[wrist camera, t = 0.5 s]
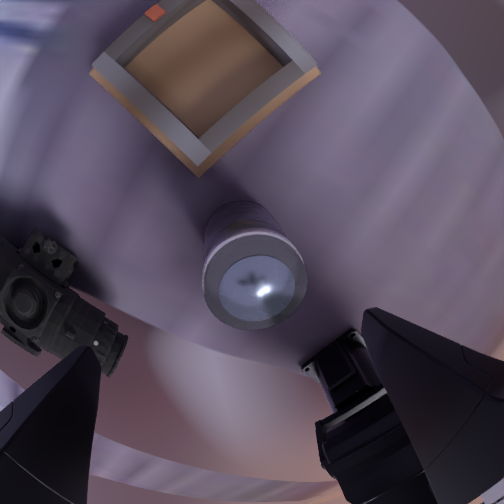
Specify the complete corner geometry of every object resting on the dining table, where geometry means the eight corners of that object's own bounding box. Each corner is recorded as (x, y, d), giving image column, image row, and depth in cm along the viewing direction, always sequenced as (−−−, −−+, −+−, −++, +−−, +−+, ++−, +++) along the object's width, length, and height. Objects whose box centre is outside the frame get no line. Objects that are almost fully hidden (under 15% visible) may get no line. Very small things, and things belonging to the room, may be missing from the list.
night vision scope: (137, 303, 24) (91, 397, 20) (-7, 197, 18) (-54, 287, 14) (152, 302, 17) (90, 434, 13) (-36, 160, 11) (-96, 279, 7)
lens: (292, 235, 20) (330, 287, 14) (239, 282, 21) (253, 348, 15) (243, 183, 18) (262, 214, 12) (187, 236, 19) (178, 292, 13)
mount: (313, 76, 16) (336, 66, 12) (199, 174, 18) (197, 185, 14) (211, -19, 12) (213, -47, 9) (97, 77, 14) (73, 67, 10)
